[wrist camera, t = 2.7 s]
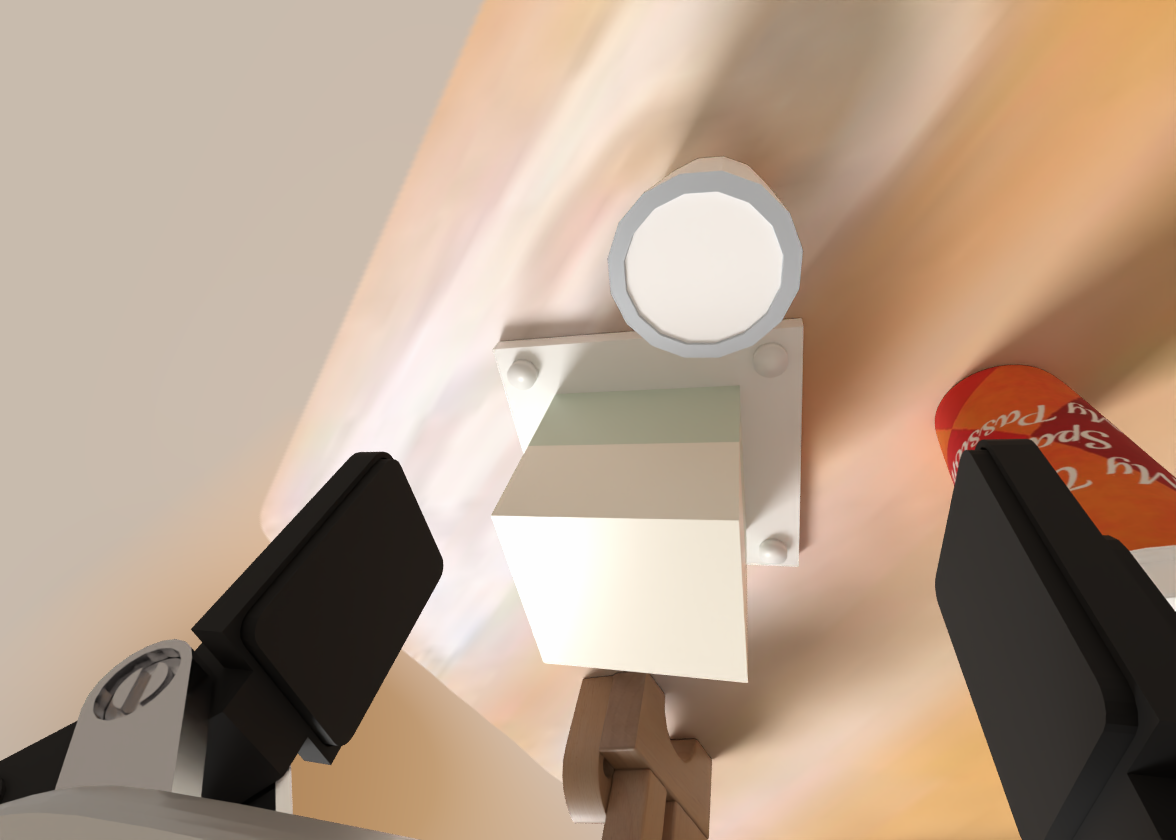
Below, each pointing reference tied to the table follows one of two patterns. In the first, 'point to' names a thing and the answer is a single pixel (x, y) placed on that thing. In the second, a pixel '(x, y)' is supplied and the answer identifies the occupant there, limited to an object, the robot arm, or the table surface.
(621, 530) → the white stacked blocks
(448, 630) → the table surface
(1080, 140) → the table surface
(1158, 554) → the paper cup
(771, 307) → the white cylinder
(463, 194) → the table surface
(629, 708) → the wooden toy
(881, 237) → the table surface
